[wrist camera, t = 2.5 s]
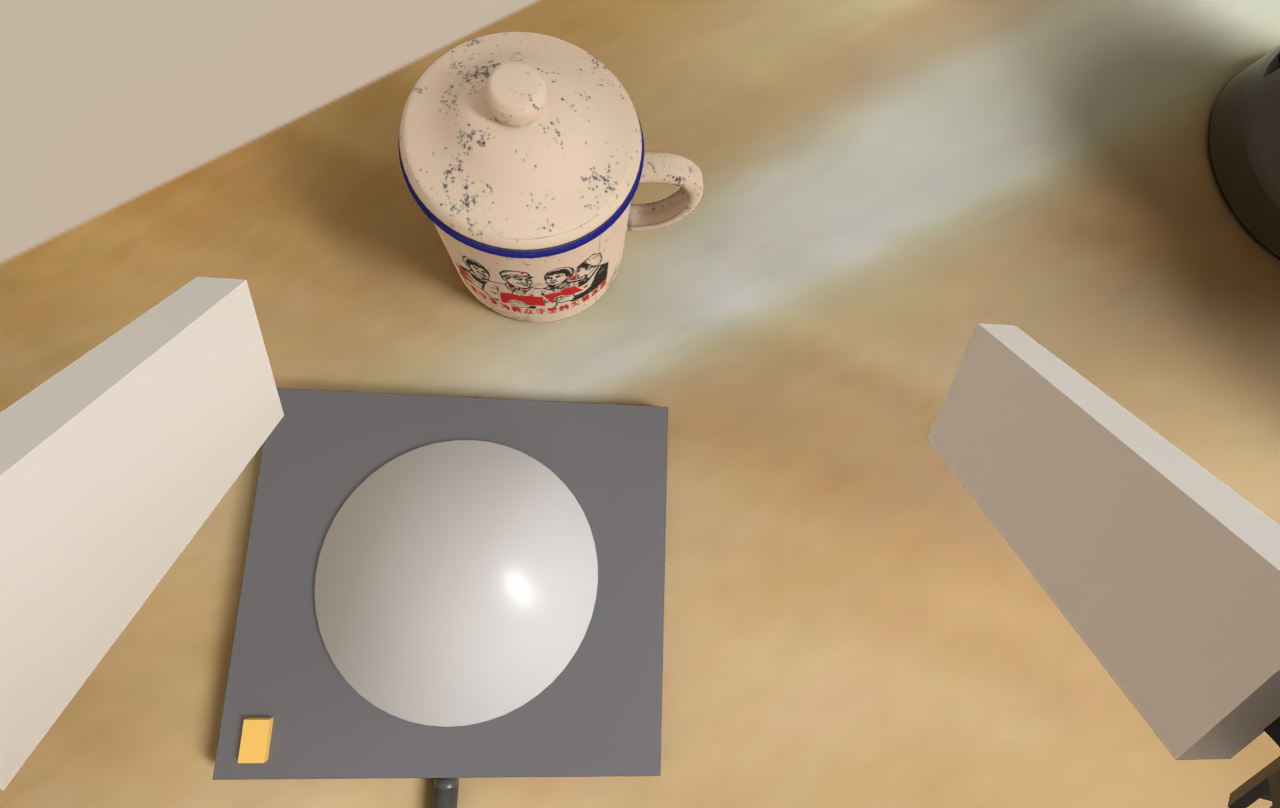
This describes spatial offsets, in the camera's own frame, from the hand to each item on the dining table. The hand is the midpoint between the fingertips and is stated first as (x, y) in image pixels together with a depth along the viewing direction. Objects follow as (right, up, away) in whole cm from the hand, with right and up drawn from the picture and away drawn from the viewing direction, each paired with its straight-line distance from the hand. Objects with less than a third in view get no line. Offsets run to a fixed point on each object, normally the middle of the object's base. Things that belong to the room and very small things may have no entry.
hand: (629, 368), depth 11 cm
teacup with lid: (-4, +8, +20) cm, 22 cm away
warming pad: (-8, -13, +15) cm, 22 cm away
